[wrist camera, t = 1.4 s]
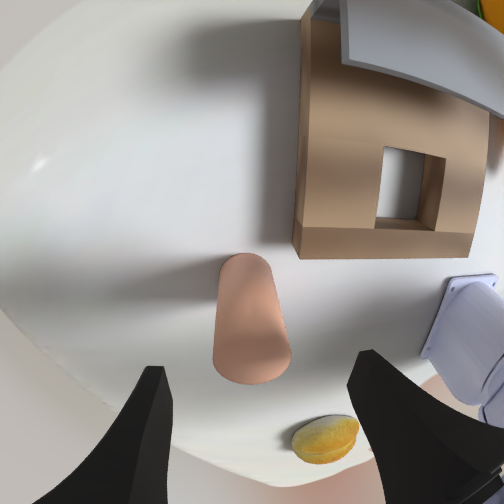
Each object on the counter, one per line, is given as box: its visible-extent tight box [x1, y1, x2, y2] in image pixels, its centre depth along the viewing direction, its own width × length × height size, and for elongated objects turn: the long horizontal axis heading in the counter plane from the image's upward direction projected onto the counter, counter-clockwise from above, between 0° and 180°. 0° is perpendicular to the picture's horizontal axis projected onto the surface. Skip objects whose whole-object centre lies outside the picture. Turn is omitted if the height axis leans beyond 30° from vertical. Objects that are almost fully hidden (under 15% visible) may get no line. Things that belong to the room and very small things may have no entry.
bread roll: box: [291, 415, 359, 464], centre depth 28 cm, size 8×9×4 cm
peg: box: [213, 253, 291, 385], centre depth 16 cm, size 4×4×8 cm
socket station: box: [292, 0, 504, 259], centre depth 13 cm, size 15×14×8 cm
